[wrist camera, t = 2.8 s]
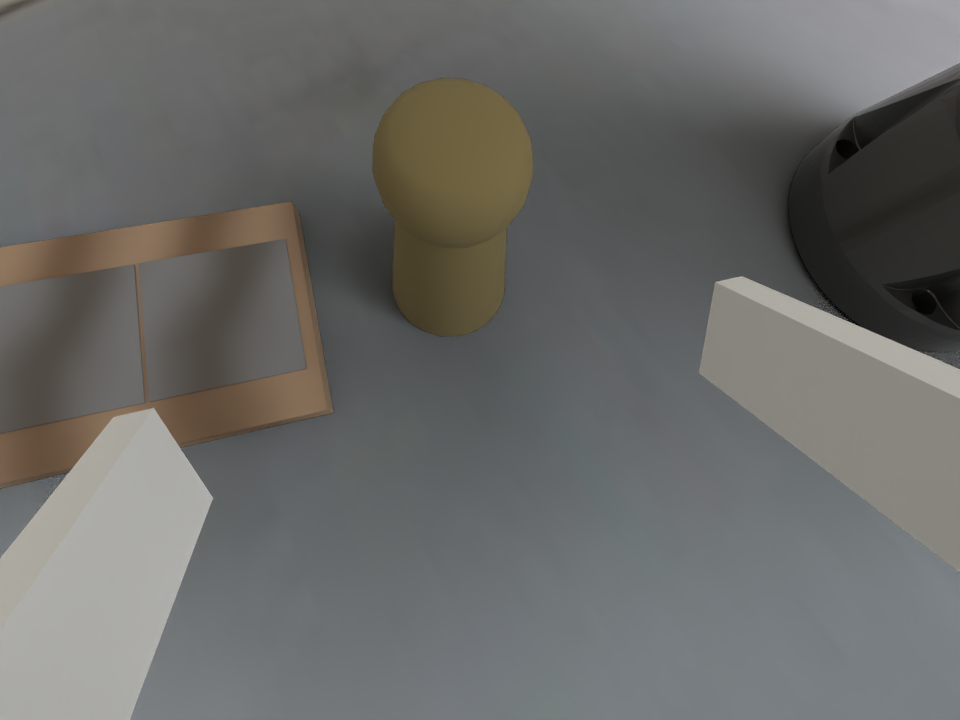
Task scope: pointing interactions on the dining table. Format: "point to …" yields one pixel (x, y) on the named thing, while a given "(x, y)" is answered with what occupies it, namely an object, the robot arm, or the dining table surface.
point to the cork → (451, 199)
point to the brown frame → (156, 335)
